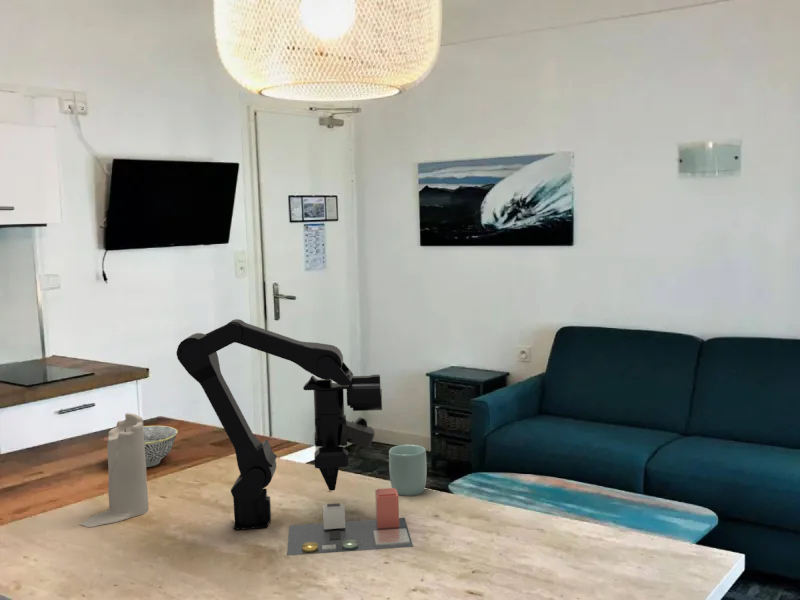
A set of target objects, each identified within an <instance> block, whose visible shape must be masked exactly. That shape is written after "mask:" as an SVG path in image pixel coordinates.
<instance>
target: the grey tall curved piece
mask: <svg viewBox="0 0 800 600" xmlns="http://www.w3.org/2000/svg"><path fill="white" fill-rule="evenodd" d="M124 416H125V417H124V418H125V419H124V420H118V421H117V423H116V426H115V427H113V428H111V429H110V430H109V432H108V433H107V434H108V438H107V444H106V445H107V448H106V449H107V464H108V465H107V467H108V484H107V485H108V486H107V487H108V489H107V490H108V505H109V507H108V508H109V509H107V510H104V511H102V512H100V513H97V514H93V515H91V516H90V517H88V518H87V519H86V520H84V521H82V522H79V525H82V526H83V527H85V528H94V527H98V526H101V525H110V524H114V523H119V522H122V521H125V520H126V521H127V520H128V519H132V518H135V517H137V516H141V515H143V514H145V513H147V512H148V511H149V496H148V481H147V478H148V477H147V467H146V458H145V445H144V429H143V426H144V419H143V418H142V417H141V416H140V415H138V414H135V413H131V412H130V413H129V412H126V413H125V415H124Z"/></svg>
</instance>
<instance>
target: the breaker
mask: <svg viewBox="0 0 800 600" xmlns="http://www.w3.org/2000/svg"><path fill="white" fill-rule="evenodd" d="M322 512H323V523H324V529H337V528H345V522H346V507H345V503H327V504H323V505H322Z"/></svg>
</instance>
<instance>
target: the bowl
mask: <svg viewBox="0 0 800 600" xmlns="http://www.w3.org/2000/svg"><path fill="white" fill-rule="evenodd" d="M143 429H144V445H145V458H146V468H149V467H151V468H152V467H154V466H157V465H159V464H160V463H161V460H162V459H164V458H165V457H166V456H168V455H169V453H170V452H171V451H172V449H173V446H174V444H175V443H174V442H175V439H176V437H177V435H178V429H176V428H175V427H172V426H166V425H143Z"/></svg>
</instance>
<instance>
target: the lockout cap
mask: <svg viewBox="0 0 800 600" xmlns="http://www.w3.org/2000/svg"><path fill="white" fill-rule="evenodd" d="M374 493H375V496H374V497H375V520H376V521H377V526H378V528H390V527H399V518H400V505H399V503H400V502H399V495H398V493H397V490H396V489H394V488H392V487H389V488H388V487H387V488H377V489H375V492H374Z"/></svg>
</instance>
